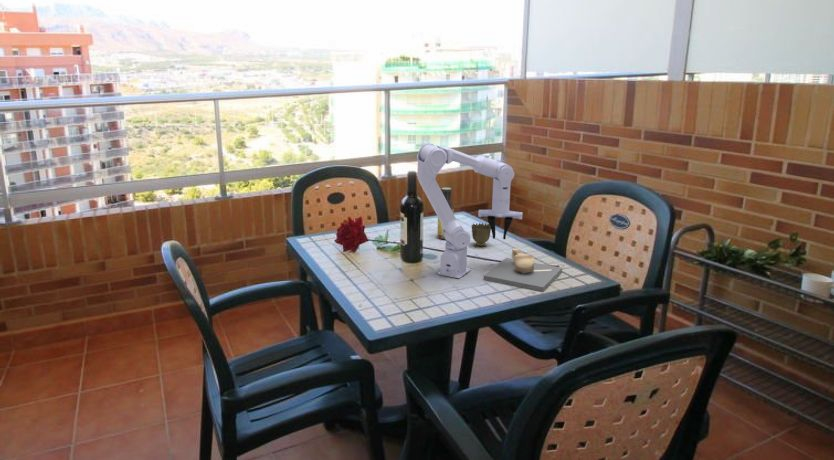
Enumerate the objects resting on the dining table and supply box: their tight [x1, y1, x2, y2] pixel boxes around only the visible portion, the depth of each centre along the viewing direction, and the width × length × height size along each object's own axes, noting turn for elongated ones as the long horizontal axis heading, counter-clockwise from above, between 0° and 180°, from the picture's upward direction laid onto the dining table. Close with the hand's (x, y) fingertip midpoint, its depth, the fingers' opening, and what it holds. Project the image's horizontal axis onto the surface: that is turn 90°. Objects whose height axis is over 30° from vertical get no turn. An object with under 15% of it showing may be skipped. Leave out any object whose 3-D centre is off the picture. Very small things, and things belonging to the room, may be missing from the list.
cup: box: [471, 222, 492, 248], centre depth 231 cm, size 8×7×8 cm
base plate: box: [483, 257, 563, 293], centre depth 202 cm, size 20×20×2 cm
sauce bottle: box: [437, 187, 455, 241], centre depth 239 cm, size 7×6×20 cm
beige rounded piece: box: [511, 248, 535, 272], centre depth 204 cm, size 13×6×4 cm, turn 11°
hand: (499, 238), depth 207 cm, fingers open, 3 cm apart
